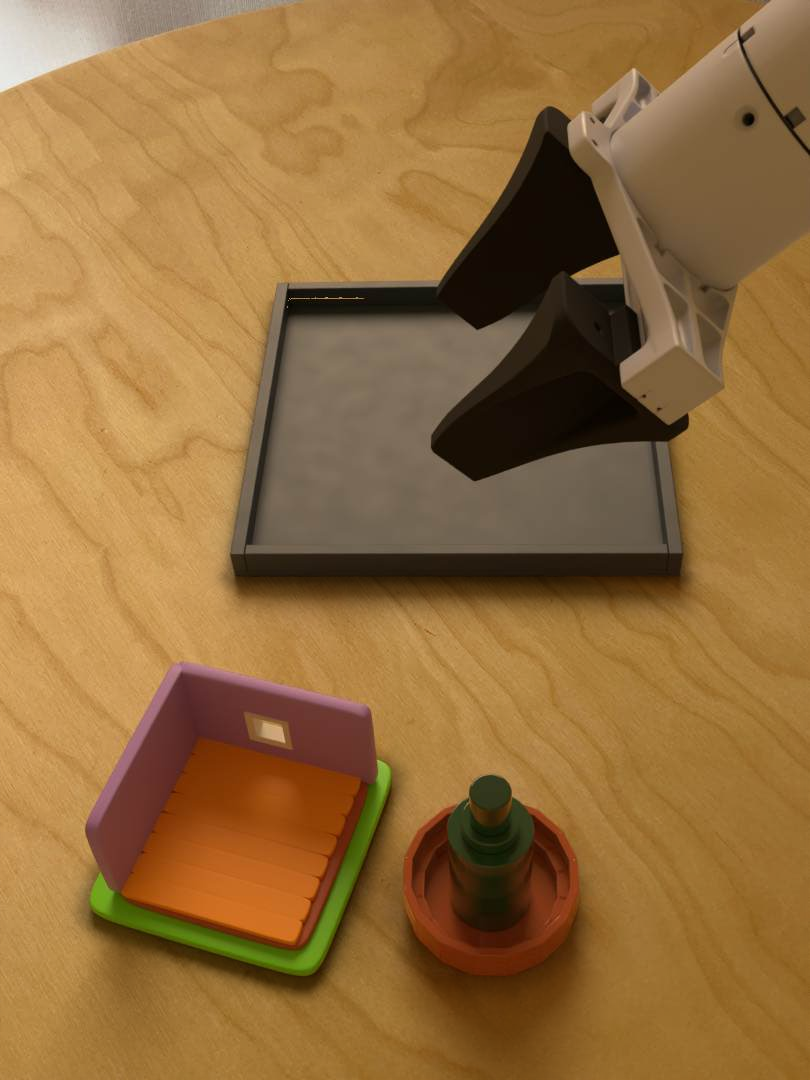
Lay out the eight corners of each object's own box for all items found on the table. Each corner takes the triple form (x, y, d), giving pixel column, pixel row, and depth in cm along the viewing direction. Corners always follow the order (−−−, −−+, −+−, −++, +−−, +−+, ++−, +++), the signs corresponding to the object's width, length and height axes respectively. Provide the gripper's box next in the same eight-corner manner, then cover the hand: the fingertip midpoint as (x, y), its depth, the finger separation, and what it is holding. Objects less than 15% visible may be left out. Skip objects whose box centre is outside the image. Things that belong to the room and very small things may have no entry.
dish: (572, 825, 66) (574, 798, 64) (579, 982, 60) (582, 957, 58) (409, 823, 66) (406, 796, 64) (402, 978, 61) (399, 954, 59)
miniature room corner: (186, 715, 71) (162, 635, 66) (399, 769, 68) (392, 689, 63) (81, 915, 64) (46, 841, 58) (317, 985, 61) (301, 914, 56)
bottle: (530, 858, 64) (534, 753, 57) (532, 932, 61) (536, 831, 55) (450, 857, 64) (446, 752, 57) (449, 931, 62) (444, 830, 55)
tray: (644, 299, 93) (646, 276, 92) (680, 576, 76) (683, 553, 75) (280, 304, 95) (277, 282, 94) (234, 576, 78) (229, 554, 76)
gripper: (683, -100, 40) (377, 185, 47) (749, 162, 30) (350, 469, 38) (820, 56, 43) (515, 299, 51) (920, 337, 33) (523, 587, 41)
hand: (455, 379), depth 44 cm, fingers open, 7 cm apart
